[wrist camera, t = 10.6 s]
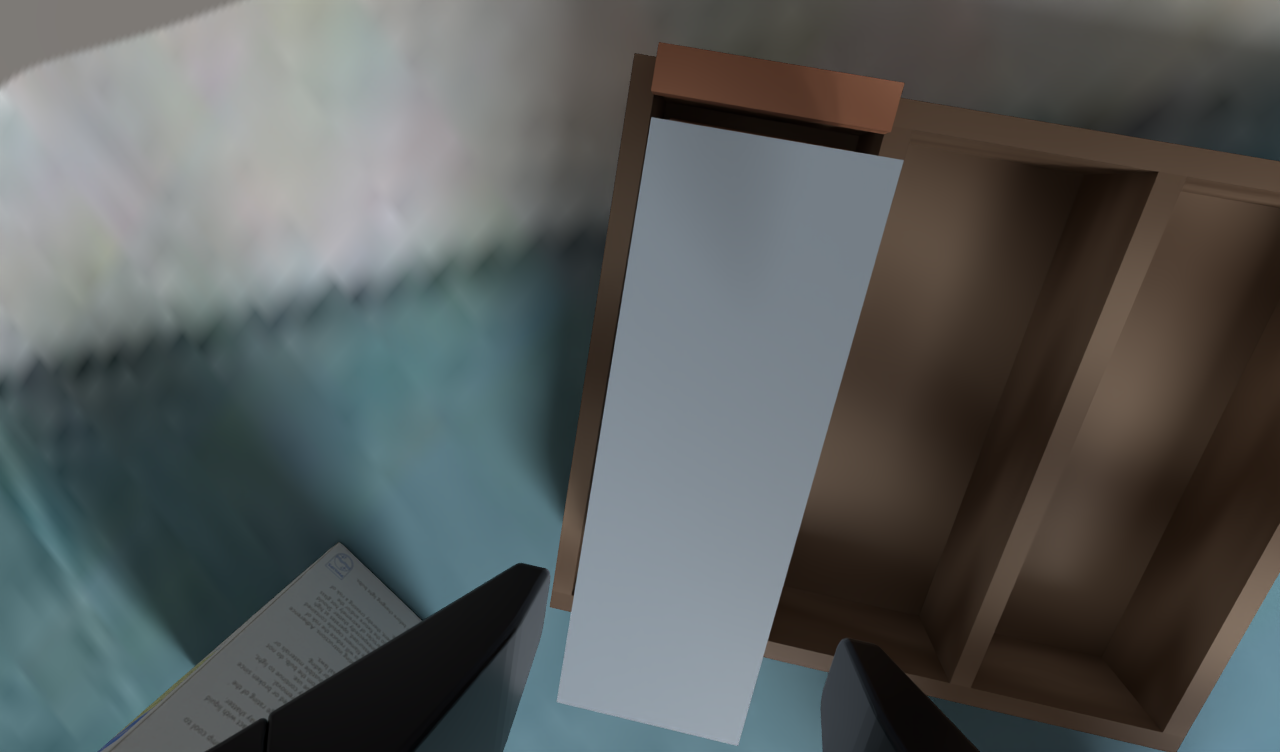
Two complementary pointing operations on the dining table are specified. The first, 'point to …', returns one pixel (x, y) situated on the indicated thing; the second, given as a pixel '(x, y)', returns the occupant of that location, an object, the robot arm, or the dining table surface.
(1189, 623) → the rack
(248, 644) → the light bulb box
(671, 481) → the white rectangular box
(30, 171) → the dining table surface
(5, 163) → the dining table surface
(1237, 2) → the dining table surface
